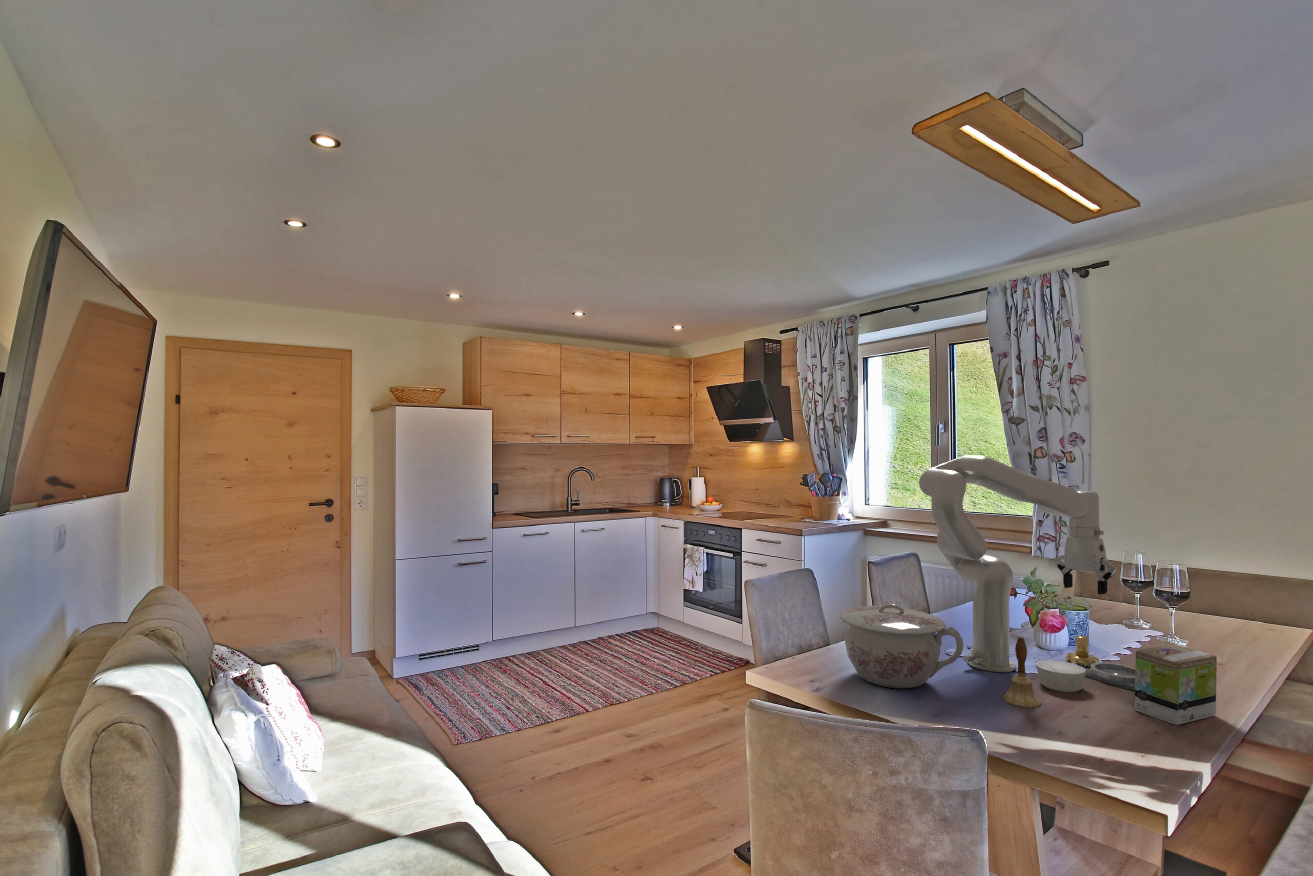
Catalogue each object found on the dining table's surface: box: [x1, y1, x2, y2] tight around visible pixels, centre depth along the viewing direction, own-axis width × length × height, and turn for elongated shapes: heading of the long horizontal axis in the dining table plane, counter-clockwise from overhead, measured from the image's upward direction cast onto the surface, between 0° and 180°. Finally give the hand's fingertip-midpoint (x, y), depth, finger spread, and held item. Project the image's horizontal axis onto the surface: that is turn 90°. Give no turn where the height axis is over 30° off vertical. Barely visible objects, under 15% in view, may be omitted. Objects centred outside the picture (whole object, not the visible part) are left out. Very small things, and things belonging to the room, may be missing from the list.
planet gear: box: [1065, 635, 1100, 668], centre depth 194 cm, size 8×8×7 cm
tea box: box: [1133, 643, 1218, 726], centre depth 157 cm, size 15×10×15 cm, turn 114°
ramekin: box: [1035, 659, 1086, 693], centre depth 175 cm, size 11×11×5 cm
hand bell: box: [1002, 636, 1042, 709], centre depth 165 cm, size 8×8×16 cm
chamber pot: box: [839, 603, 964, 690], centre depth 179 cm, size 28×28×21 cm
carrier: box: [1084, 661, 1135, 692], centre depth 178 cm, size 12×17×5 cm
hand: (1084, 590), depth 194 cm, fingers open, 9 cm apart
